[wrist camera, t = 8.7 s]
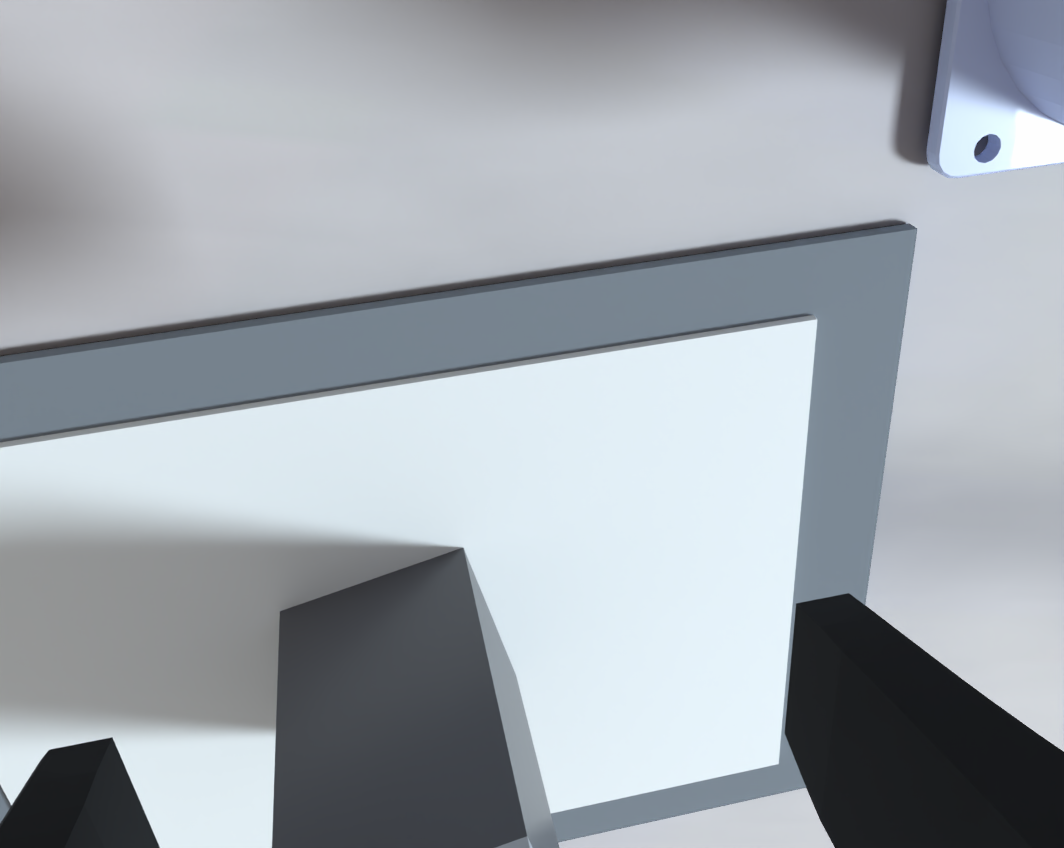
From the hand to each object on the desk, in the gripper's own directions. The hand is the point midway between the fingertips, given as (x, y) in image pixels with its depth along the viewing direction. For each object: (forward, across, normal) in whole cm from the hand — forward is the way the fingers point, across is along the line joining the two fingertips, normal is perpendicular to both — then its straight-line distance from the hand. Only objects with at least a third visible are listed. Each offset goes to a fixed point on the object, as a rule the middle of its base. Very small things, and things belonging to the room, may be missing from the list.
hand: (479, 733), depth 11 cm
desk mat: (+9, +1, +7) cm, 12 cm away
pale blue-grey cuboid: (+9, +1, +7) cm, 11 cm away
